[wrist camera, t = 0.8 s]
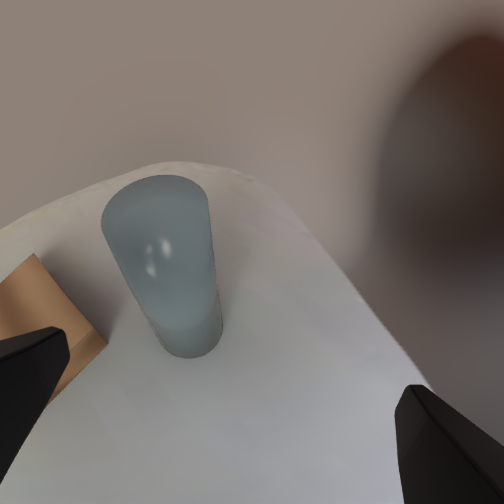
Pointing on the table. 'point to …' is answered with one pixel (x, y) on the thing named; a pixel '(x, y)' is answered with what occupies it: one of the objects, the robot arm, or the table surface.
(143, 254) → the slate canister
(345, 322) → the table surface
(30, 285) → the walnut base
